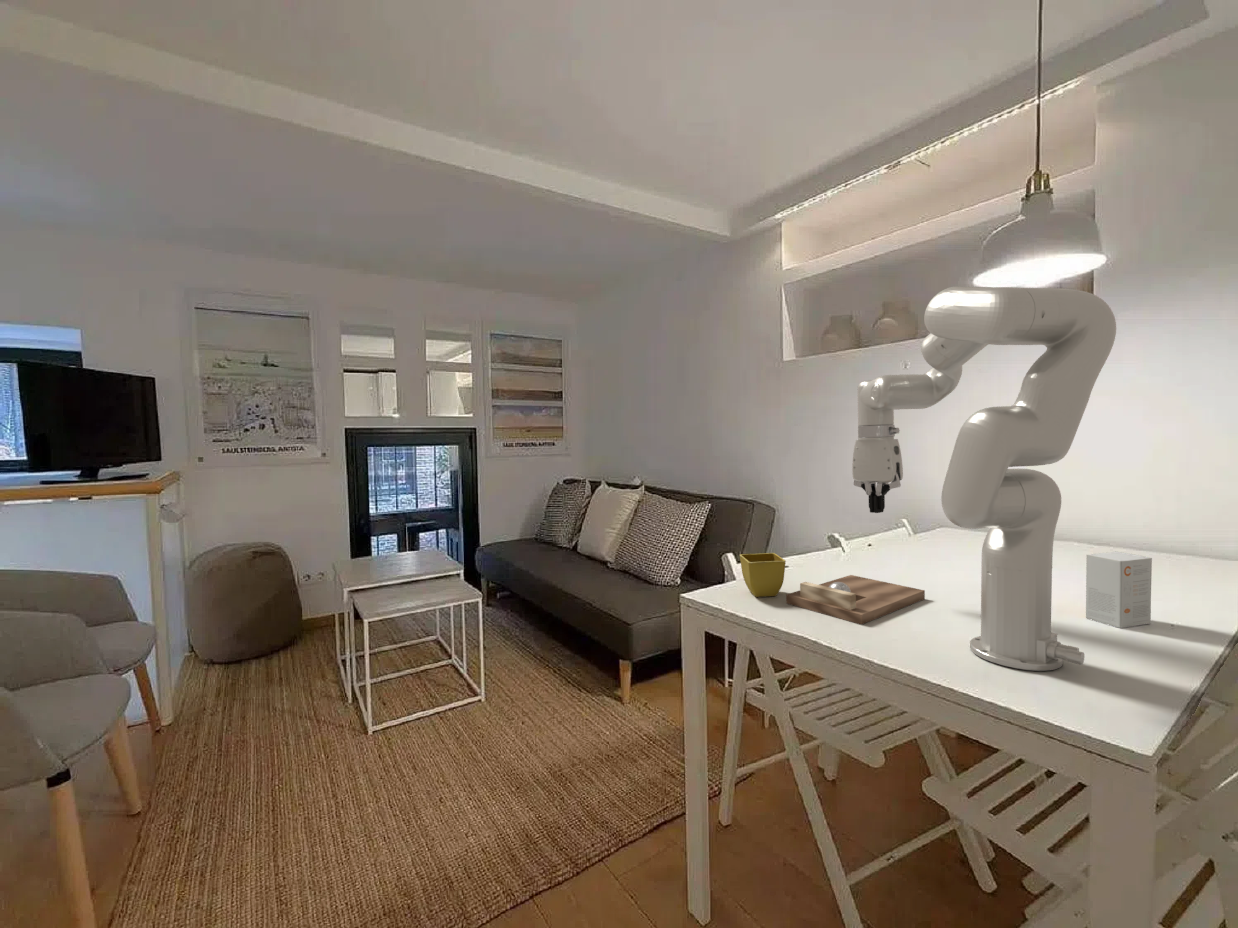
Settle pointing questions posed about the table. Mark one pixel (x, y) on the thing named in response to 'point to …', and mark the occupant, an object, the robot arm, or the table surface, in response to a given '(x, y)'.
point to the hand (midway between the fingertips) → (876, 512)
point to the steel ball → (840, 586)
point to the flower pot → (763, 573)
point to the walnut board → (865, 599)
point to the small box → (1118, 589)
